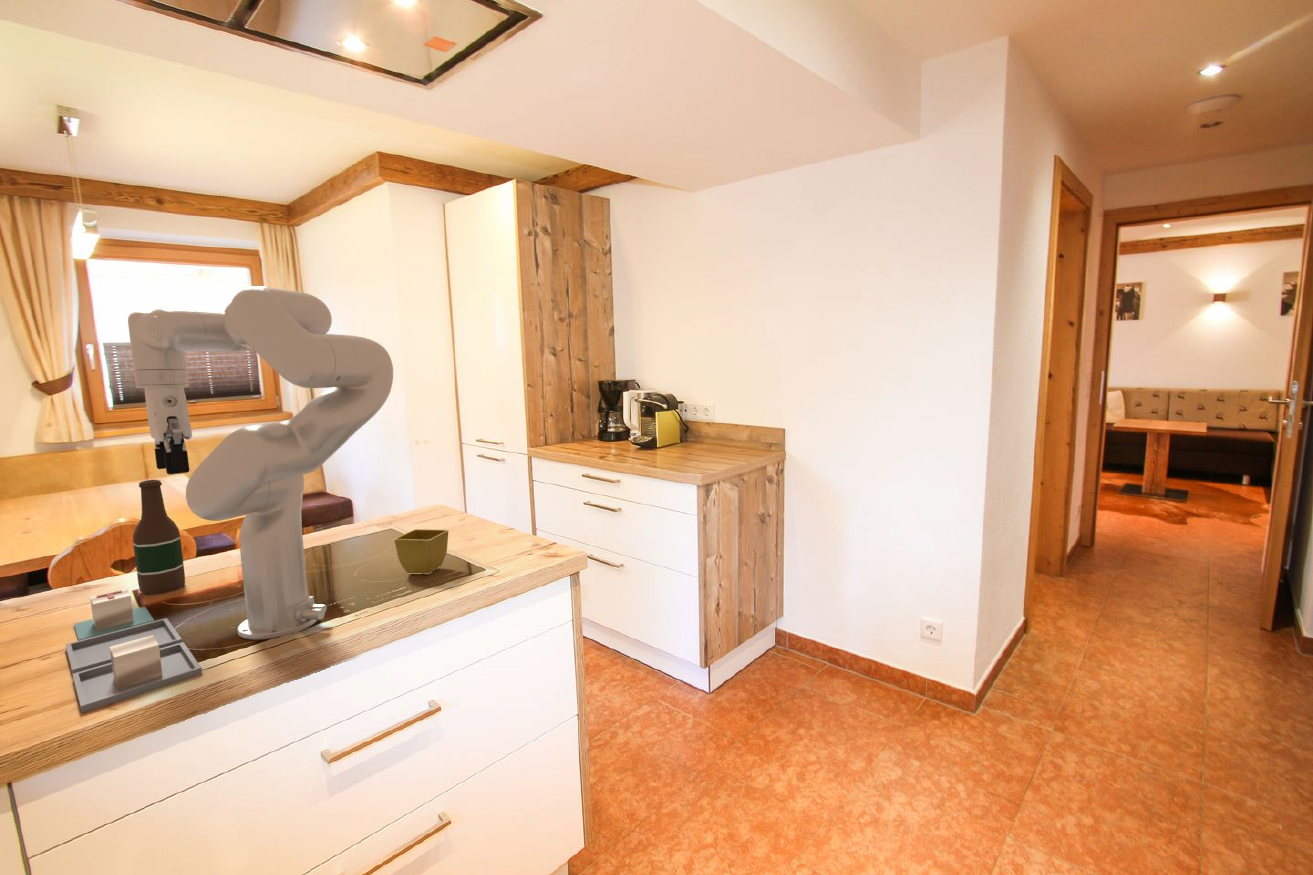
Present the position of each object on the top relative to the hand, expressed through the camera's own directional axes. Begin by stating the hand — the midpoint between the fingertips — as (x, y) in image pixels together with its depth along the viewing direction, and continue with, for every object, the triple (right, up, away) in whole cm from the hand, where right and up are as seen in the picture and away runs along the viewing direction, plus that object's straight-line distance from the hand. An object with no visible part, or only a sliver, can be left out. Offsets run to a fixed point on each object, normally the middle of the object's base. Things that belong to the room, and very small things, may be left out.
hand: (172, 470), depth 109 cm
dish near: (+12, -31, -21) cm, 39 cm away
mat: (-9, -29, -2) cm, 30 cm away
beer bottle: (-16, -27, +17) cm, 36 cm away
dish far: (+1, -30, -11) cm, 32 cm away
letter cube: (-9, -28, -2) cm, 30 cm away
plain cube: (+12, -30, -21) cm, 39 cm away
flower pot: (+38, -25, +25) cm, 52 cm away
